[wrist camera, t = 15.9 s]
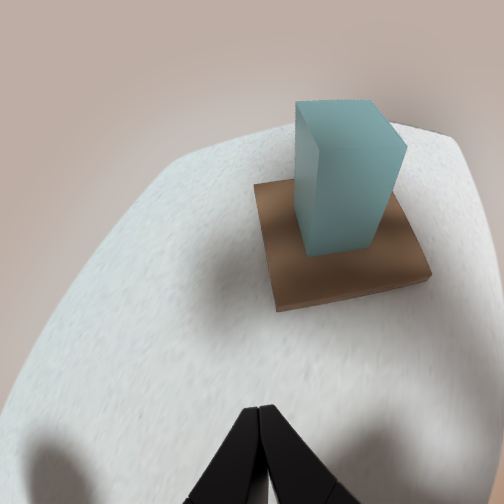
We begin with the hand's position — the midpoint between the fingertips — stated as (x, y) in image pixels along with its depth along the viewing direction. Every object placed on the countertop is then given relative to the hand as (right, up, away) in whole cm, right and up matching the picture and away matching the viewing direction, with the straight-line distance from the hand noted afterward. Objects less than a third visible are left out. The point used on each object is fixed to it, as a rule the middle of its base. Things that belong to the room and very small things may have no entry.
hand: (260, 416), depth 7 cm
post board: (+7, +6, +19) cm, 21 cm away
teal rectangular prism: (+7, +7, +18) cm, 21 cm away
